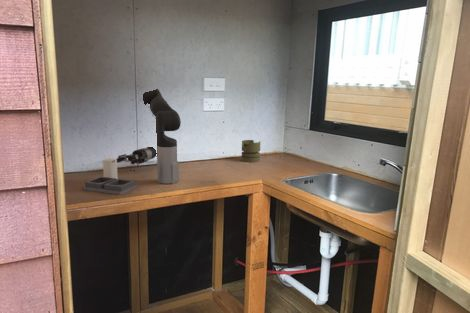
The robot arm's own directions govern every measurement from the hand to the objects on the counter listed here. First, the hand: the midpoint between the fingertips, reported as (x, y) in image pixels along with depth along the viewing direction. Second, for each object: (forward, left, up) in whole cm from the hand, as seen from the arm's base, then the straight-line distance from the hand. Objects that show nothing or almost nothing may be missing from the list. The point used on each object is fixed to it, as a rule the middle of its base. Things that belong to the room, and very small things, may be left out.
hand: (124, 161), depth 185 cm
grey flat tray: (-9, +23, -7) cm, 26 cm away
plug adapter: (0, +11, -7) cm, 13 cm away
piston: (-49, -60, -7) cm, 78 cm away
